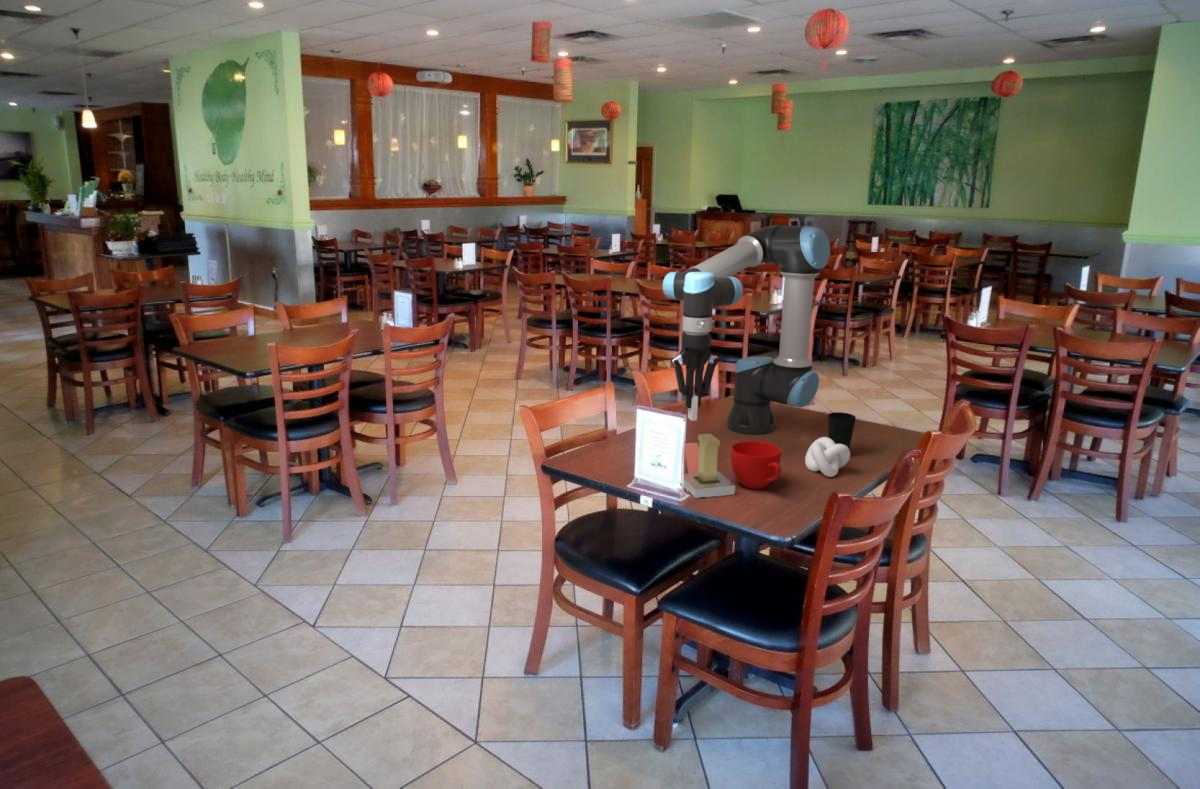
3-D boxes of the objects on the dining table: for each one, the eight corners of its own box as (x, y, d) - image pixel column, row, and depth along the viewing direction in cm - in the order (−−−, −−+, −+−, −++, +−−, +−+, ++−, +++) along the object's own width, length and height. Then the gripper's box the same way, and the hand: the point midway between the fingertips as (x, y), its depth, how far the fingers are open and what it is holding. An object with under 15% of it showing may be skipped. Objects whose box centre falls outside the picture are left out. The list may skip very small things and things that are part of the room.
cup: (853, 460, 233) (857, 420, 230) (825, 458, 235) (829, 418, 232) (850, 451, 241) (854, 413, 237) (824, 449, 242) (827, 411, 239)
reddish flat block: (681, 445, 219) (683, 443, 218) (697, 443, 221) (699, 441, 219) (688, 481, 216) (690, 479, 215) (704, 479, 217) (706, 478, 216)
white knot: (841, 483, 216) (844, 451, 213) (796, 475, 221) (799, 444, 219) (850, 470, 225) (853, 440, 223) (808, 463, 231) (810, 433, 229)
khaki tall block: (695, 485, 213) (697, 434, 209) (708, 484, 214) (710, 433, 210) (704, 493, 207) (707, 441, 204) (717, 492, 208) (720, 440, 205)
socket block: (678, 483, 214) (679, 474, 213) (716, 479, 217) (717, 470, 216) (694, 498, 204) (695, 489, 203) (734, 494, 207) (735, 485, 206)
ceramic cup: (755, 502, 202) (758, 464, 200) (719, 479, 217) (721, 444, 214) (798, 495, 207) (801, 458, 205) (760, 473, 222) (762, 438, 220)
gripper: (678, 335, 205) (674, 424, 211) (725, 334, 209) (720, 421, 215) (667, 330, 212) (664, 416, 218) (713, 328, 216) (709, 413, 222)
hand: (692, 419), depth 216 cm, fingers closed
